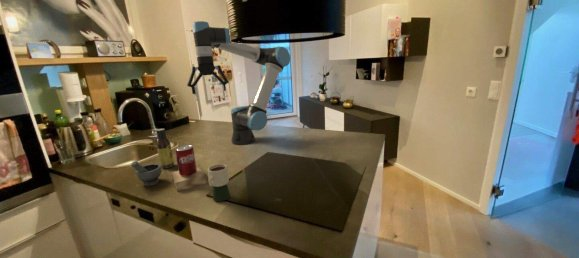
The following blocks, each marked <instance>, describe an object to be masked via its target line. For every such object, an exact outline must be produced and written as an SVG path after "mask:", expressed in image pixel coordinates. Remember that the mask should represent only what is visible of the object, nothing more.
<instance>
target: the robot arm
mask: <svg viewBox="0 0 579 258" xmlns="http://www.w3.org/2000/svg"><path fill="white" fill-rule="evenodd" d="M191 25H192V34H193V40H194V41H193V42H194V45H195V46H194V47H195V54H196V56H197V57H196V59H197V60H196V61H197V66H191V72H190V75H189V78H188V81H187V84H186V86H187V87H190V88H191V93H192V95H194V98H195V101H196V102H199V96H198V89H197V87H196V86H197V84H198V83H199V81H200V79H201V78H202V77H203V76H213V77H214V78H215V79H216V80H217V81H218V82H219V83H220V90H221V91H220V93H221V97H222V98H226V94H225V92H226V91H227V90H226V85H227V84H229V80H228V78H227V77H226V75H225V73H224V72H223V70H222V67H221V65H219V64H218V65H215V62H214V57H213V49H212V48H215V49H218V50H221V51H225V52H228V53H230V54H234V55H236V56H237V55H238V57H239V56H240V57H243V58H246V59H249V60H251V62H253V63H256V64H258V65H260V66H265V70H264V73H263V75H262V77H261V80H260V82H259V84H258V87H257V90H256V93H255V95H254V98H253V100H252V103H249V105H243V106H236V107H233V108H231V109H230V114H231V123H232V129H233V131H232V135H231V143H232V144H233V145H237V146H238V145H239V146H241V145H242V146H243V145H248V144H252V143H254V142H255V140H256V139H255V138H256V137H255V134H254V132H253V131H261V130H263V129H264V128H265V127H266V126H267V124H268V119H269V118H268V115H267V113H268V111H267V110H268V109H267V106H268V103H269V102H270V101H269V100H270V98H271V95H272V93H273V90H274V88H275V85H276V83H277V82H276V81H277V80H278V77H279V75H280V73H282V72H283V70H284V68H285V67H287V66H288V65H290V63H291V55H290V52H289V50H288V49H287V48H286V47H284V46H274V47H267V48H266V47H258V46H254V47H253V46H251V45H249V44H246V43H243V44H238V43H232V42H231V41H230V35H229V29H230V28H226V27H211V26H210V24H209V22H207V21H194V22H192V24H191ZM215 70H216V71H217V72H218V73H219V75H220V76H219V75H218V73H217V72H216V71H215ZM197 71H198V74H197V76H196V77H195V75H196V72H197ZM194 77H195V79H194Z"/></svg>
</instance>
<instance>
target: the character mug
mask: <svg viewBox="0 0 579 258" xmlns="http://www.w3.org/2000/svg"><path fill="white" fill-rule="evenodd" d="M207 177H208V179H207V181H208V185H209V187H212V200H213V201H216V202H222V201H226V200H228V199H229V198H230V197H231V196H230V195H231V193H230V190H229V186H228V183H229V182H230V181H229V180H230V179H229V177H230V176H229V170H228V165H227V164H225V163H216V164H215V163H214V164H212V165H209V167H208V168H207Z"/></svg>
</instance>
